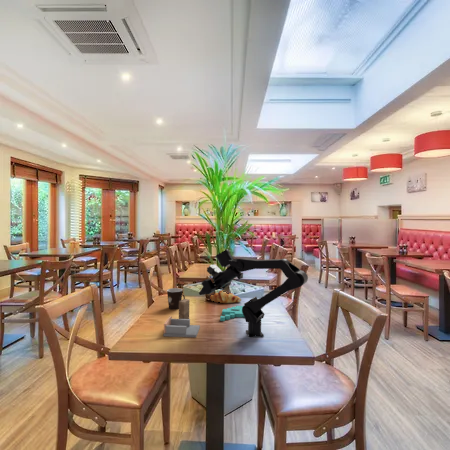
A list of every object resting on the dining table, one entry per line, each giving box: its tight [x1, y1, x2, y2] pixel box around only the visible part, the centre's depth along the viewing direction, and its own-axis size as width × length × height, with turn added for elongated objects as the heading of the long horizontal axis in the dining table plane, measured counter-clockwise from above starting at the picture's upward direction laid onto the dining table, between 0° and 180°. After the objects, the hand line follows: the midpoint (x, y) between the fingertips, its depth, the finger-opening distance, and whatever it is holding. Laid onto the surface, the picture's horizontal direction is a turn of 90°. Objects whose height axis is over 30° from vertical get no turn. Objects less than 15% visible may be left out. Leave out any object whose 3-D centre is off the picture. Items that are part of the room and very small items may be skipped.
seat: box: [162, 315, 201, 338], centre depth 126 cm, size 14×11×5 cm
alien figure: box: [219, 305, 245, 322], centre depth 149 cm, size 20×2×20 cm
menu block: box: [178, 298, 190, 319], centre depth 136 cm, size 3×5×11 cm, turn 160°
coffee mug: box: [166, 287, 186, 311], centre depth 158 cm, size 12×9×10 cm
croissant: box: [209, 289, 242, 304], centre depth 173 cm, size 21×10×8 cm, turn 80°
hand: (205, 292), depth 137 cm, fingers open, 9 cm apart
